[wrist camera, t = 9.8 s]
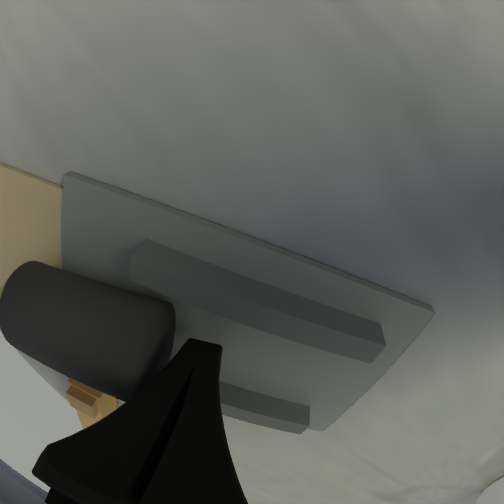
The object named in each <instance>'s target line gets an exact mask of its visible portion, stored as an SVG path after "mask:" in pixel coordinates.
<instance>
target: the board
mask: <svg viewBox="0 0 504 504" xmlns="http://www.w3.org/2000/svg"><path fill="white" fill-rule="evenodd" d="M29 261H39V262H42V263H45V264H47V265H50V266H53V267H56V268H59V269H62V270H65V271H68V272H70V273H73V274H76V275H79V276H83V277H86V278H89V279H92V280H95V281H98V282H101V283H105V284H108V285H111V286H114V287H118V288H121V289H124V290H128V291H131V292H135V293H138V294H142V295H145V296H149V297H152V298H156V299H160V300H163V301H167V302H171V303H172V304H173V306H174V309H175V316H176V326H175V336H174V343H173V348H172V353H171V357H170V360H171V359H172V358H173V357H174V356H175V355H176V353H177V352H178V351H179V350H180V349H181V347H182V346H183V345H184V343H185V342H186V341H187V339H189V338H194V339H198V340H202V341H206V342H211V343H215V344H220V345H221V346H222V347H223V351H222V360H221V368H220V377H219V390H220V403H221V411H222V415H225V416H229V417H232V418H235V419H239V420H242V421H246V422H250V423H253V424H257V425H261V426H265V427H269V428H274V429H278V430H282V431H287V432H292V433H296V434H301V433H302V432H303V431H304V430H306V429H312V430H318V431H324V430H325V429H326V428H327V427H329V426H330V425H331V424H332V423H333V422H334V421H335V420H337V419H338V418H339V417H340V416H341V415H342V414H343V413H344V412H346V411H347V410H348V409H349V408H350V407H351V406H352V405H353V404H354V403H355V402H356V401H357V400H359V399H360V398H361V397H362V396H363V395H364V394H365V393H366V392H367V391H368V390H369V389H370V388H371V387H372V386H373V385H374V384H375V383H376V382H377V381H378V380H379V379H380V378H381V377H382V376H383V374H384V373H385V372H386V371H387V370H388V369H389V368H390V367H391V366H392V365H393V364H394V363H395V362H396V360H397V359H398V358H399V357H400V356H401V355H402V354H403V353H404V351H405V350H406V349H407V348H408V347H409V346H410V344H411V343H412V342H413V341H414V340H415V338H416V337H417V336H418V335H419V334H420V332H421V331H422V330H423V329H424V327H425V326H426V325H427V324H428V322H429V321H430V320H431V318H432V317H433V316H434V314H435V311H434V309H433V308H432V307H431V306H429V305H426V304H424V303H421V302H419V301H416V300H414V299H411V298H408V297H406V296H403V295H401V294H398V293H396V292H393V291H391V290H388V289H386V288H383V287H381V286H378V285H376V284H373V283H371V282H368V281H365V280H363V279H360V278H358V277H355V276H353V275H350V274H347V273H345V272H342V271H340V270H337V269H335V268H332V267H329V266H327V265H324V264H322V263H319V262H316V261H314V260H311V259H308V258H306V257H303V256H301V255H298V254H295V253H293V252H290V251H287V250H285V249H282V248H280V247H277V246H274V245H272V244H269V243H266V242H264V241H261V240H258V239H256V238H253V237H250V236H248V235H245V234H242V233H240V232H237V231H234V230H232V229H229V228H226V227H223V226H221V225H218V224H215V223H213V222H210V221H207V220H204V219H202V218H199V217H196V216H194V215H191V214H188V213H185V212H183V211H180V210H177V209H174V208H172V207H169V206H166V205H163V204H161V203H158V202H155V201H152V200H149V199H147V198H144V197H141V196H138V195H136V194H133V193H130V192H127V191H124V190H122V189H119V188H116V187H113V186H110V185H107V184H105V183H102V182H99V181H96V180H93V179H90V178H87V177H85V176H82V175H79V174H76V173H73V172H68V173H66V174H64V178H63V187H61V186H59V185H56V184H54V183H51V182H48V181H46V180H43V179H41V178H38V177H35V176H33V175H30V174H28V173H25V172H23V171H20V170H17V169H15V168H12V167H10V166H7V165H5V164H2V163H0V286H1V287H2V286H3V284H4V283H5V281H6V280H7V279H8V278H9V277H10V275H11V274H12V273H13V272H14V270H15V269H17V268H18V267H19V266H20V265H22V264H24V263H26V262H29ZM169 362H170V361H169Z"/></svg>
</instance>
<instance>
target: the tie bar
mask: <svg viewBox="0 0 504 504" xmlns="http://www.w3.org/2000/svg"><path fill="white" fill-rule="evenodd" d="M68 384H69V387H70V388H69V389H68V391H67V396H68V399H69V402H70V405H71V406H72V407H74V408H75V409H76V410H77V412H78V416H79V419H80V422H81V424H82V427H83V429H85V428H87V427H89V426H90V425H92V424H94V423H96V422H98V421H99V420H101V419H103V418H104V417H106V416H107V415H109V414H110V413H112V412H113V411H115V410H116V409H117V408H116V398H115V397H112V396H110V395H107V394H105V393H103V392H100V391H98V390H96V389H93V388H91V387H89V386H87V385H84V384H82V383H80V382H78V381H76V380H74V379H72V378H70V379H69V380H68Z"/></svg>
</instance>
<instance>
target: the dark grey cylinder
mask: <svg viewBox="0 0 504 504" xmlns="http://www.w3.org/2000/svg"><path fill="white" fill-rule="evenodd" d="M175 326H176V316H175V309H174V306H173V304H172V303H171V302H167V301H163V300H160V299H156V298H152V297H149V296H145V295H142V294H138V293H135V292H131V291H128V290H124V289H121V288H118V287H114V286H111V285H108V284H105V283H101V282H98V281H95V280H92V279H89V278H86V277H83V276H79V275H76V274H73V273H70V272H68V271H65V270H62V269H59V268H56V267H53V266H50V265H47V264H45V263H42V262H39V261H29V262H26V263H24V264H22V265H20V266H19V267H18V268H17V269H15V270H14V272H13V273H12V274H11V275H10V277H9V278H8V279H7V280H6V281H5V283H4V284H3V286H2V288H1V291H0V327H1V330H2V333H3V335H4V337H5V339H6V340H7V341H8V342H9V343H10V344H11V345H12V346H14V347H15V348H17V349H18V350H20V351H22V352H23V353H25V354H27V355H28V356H30V357H32V358H34V359H35V360H37V361H39V362H41V363H43V364H44V365H46V366H48V367H50V368H52V369H54V370H56V371H58V372H60V373H62V374H64V375H66V376H68V377H70V378H72V379H74V380H76V381H78V382H80V383H82V384H84V385H87V386H89V387H91V388H93V389H96V390H98V391H100V392H103V393H105V394H107V395H110V396H112V397H115V398H117V399H120V400H122V401H125V402H127V401H128V400H130V399H131V398H132V397H133V396H134V395H136V394H137V393H138V392H139V391H140V390H141V389H142V388H144V387H145V386H146V385H147V384H148V383H149V382H150V381H151V380H152V379H153V378H154V377H155V376H156V375H157V374H158V373H159V372H160V371H161V370H162V369H163V368H164V367H165V366H166V365H167V364H168V363H169V361H170V357H171V353H172V348H173V343H174V336H175Z"/></svg>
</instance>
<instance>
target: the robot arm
mask: <svg viewBox="0 0 504 504" xmlns="http://www.w3.org/2000/svg"><path fill="white" fill-rule="evenodd" d="M222 351H223V347H222V346H221V345H220V344H215V343H211V342H206V341H202V340H198V339H194V338H189V339H187V341H186V342H185V343H184V345H183V346H182V347H181V349H180V350H179V351H178V352H177V353H176V355H175V356H174V357H173V358H172V359H171V360H170V362H169V363H168V364H167V365H166V366H165V367H164V368H163V369H162V370H161V371H160V372H159V373H158V374H157V375H156V376H155V377H154V378H153V379H152V380H151V381H150V382H149V383H148V384H147V385H146V386H145V387H144V388H142V389H141V390H140V391H139V392H138V393H137V394H136V395H134V396H133V397H132V398H131V399H130V400H128V401H127V402H126V403H124V404H123V405H122V406H120V407H119V408H118V409H116V410H115V411H113V412H112V413H110V414H109V415H107V416H106V417H104V418H103V419H101V420H99V421H98V422H96V423H94V424H92V425H90V426H89V427H87V428H85V429H83V430H81V431H79V432H77V433H75V434H73V435H71V436H69V437H66V438H64V439H61V440H59V441H56V442H54V443H51V444H49V445H47V447H46V448H45V449H44V451H43V452H42V453H41V455H40V456H39V458H38V460H37V462H36V464H35V466H34V468H33V470H32V473H33V475H34V476H35V477H37V478H38V479H39V480H41V481H42V482H44V483H45V484H46V485H48V486H49V487H51V488H50V490H49V493H47V492H46V491H44V490H42V489H41V488H40V487H38V486H37V485H35V484H34V483H32V482H31V481H29V480H28V479H26V478H25V477H24V476H22V475H21V474H19V473H18V472H17V471H15V470H14V469H12V468H11V467H10V466H9V465H7V464H6V463H5V462H4V461H2V460H1V459H0V504H248V502H247V500H246V498H245V495H244V493H243V491H242V488H241V485H240V483H239V480H238V477H237V474H236V471H235V468H234V465H233V462H232V458H231V455H230V451H229V447H228V443H227V439H226V434H225V430H224V424H223V418H222V411H221V403H220V390H219V377H220V368H221V360H222Z"/></svg>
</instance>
